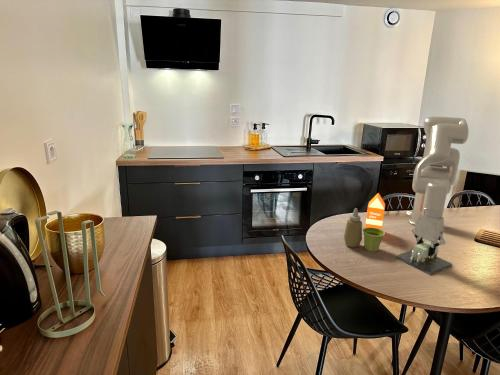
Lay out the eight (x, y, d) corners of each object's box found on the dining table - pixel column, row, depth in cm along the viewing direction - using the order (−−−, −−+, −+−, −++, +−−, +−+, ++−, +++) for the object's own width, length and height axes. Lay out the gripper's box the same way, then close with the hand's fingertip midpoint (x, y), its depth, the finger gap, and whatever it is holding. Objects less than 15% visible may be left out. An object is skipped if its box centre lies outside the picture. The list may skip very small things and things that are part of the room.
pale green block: (413, 254, 146) (414, 245, 144) (426, 249, 150) (427, 241, 149) (422, 258, 142) (424, 250, 141) (435, 253, 146) (437, 245, 145)
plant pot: (382, 246, 160) (384, 228, 158) (382, 255, 152) (385, 237, 149) (361, 242, 163) (363, 225, 161) (360, 251, 155) (362, 233, 152)
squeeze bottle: (362, 243, 163) (366, 207, 157) (359, 250, 156) (364, 213, 150) (344, 239, 166) (348, 204, 161) (341, 246, 159) (345, 210, 154)
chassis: (395, 257, 150) (397, 245, 148) (417, 250, 157) (419, 237, 155) (430, 275, 137) (432, 261, 135) (451, 265, 144) (454, 252, 142)
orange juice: (364, 234, 172) (368, 196, 166) (365, 227, 180) (370, 191, 174) (380, 237, 170) (386, 198, 164) (381, 230, 177) (386, 193, 171)
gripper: (408, 207, 145) (401, 246, 151) (447, 221, 132) (438, 263, 137) (419, 204, 149) (412, 242, 155) (458, 217, 135) (449, 259, 141)
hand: (424, 252), depth 146 cm, fingers closed on pale green block, 4 cm apart
